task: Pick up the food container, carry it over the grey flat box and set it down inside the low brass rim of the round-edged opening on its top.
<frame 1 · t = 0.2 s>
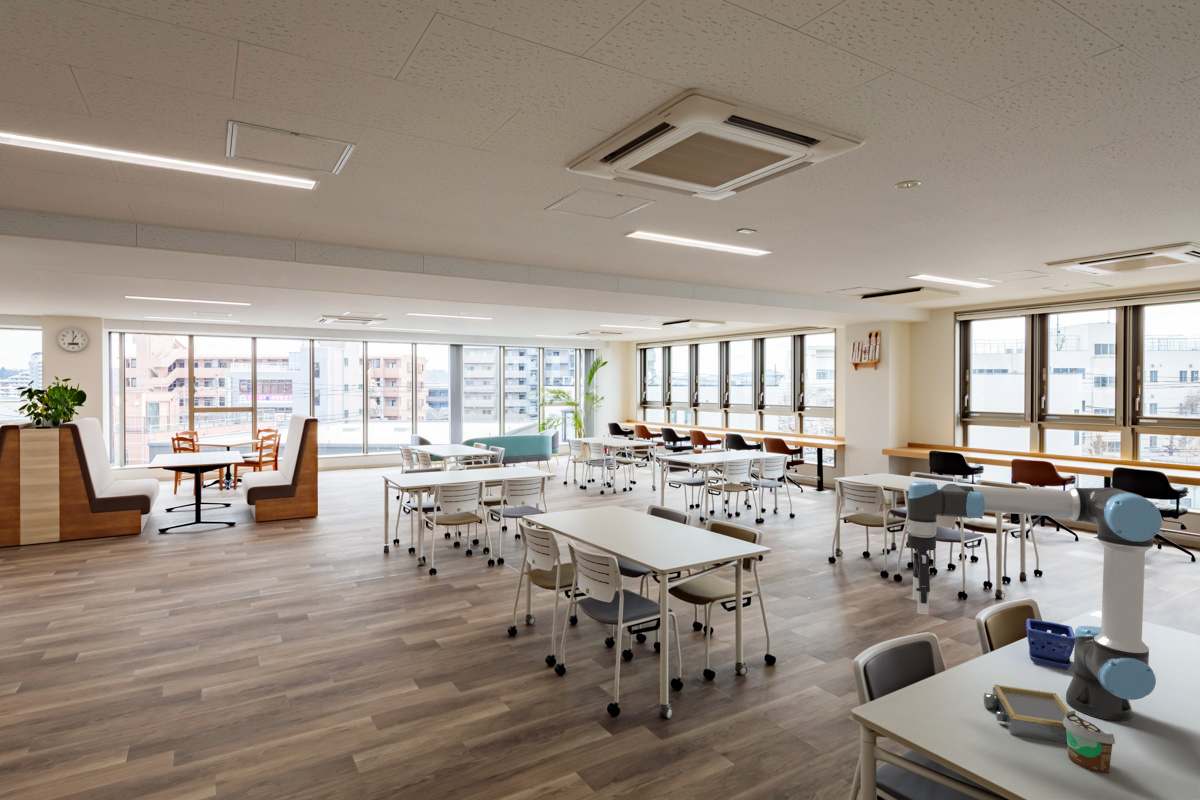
hand: (920, 606, 191), 28 cm above the table, fingers open, 13 cm apart
grey flat box: (1034, 721, 180), on the table
food container: (1080, 763, 160), on the table
flower pot: (1049, 662, 220), on the table
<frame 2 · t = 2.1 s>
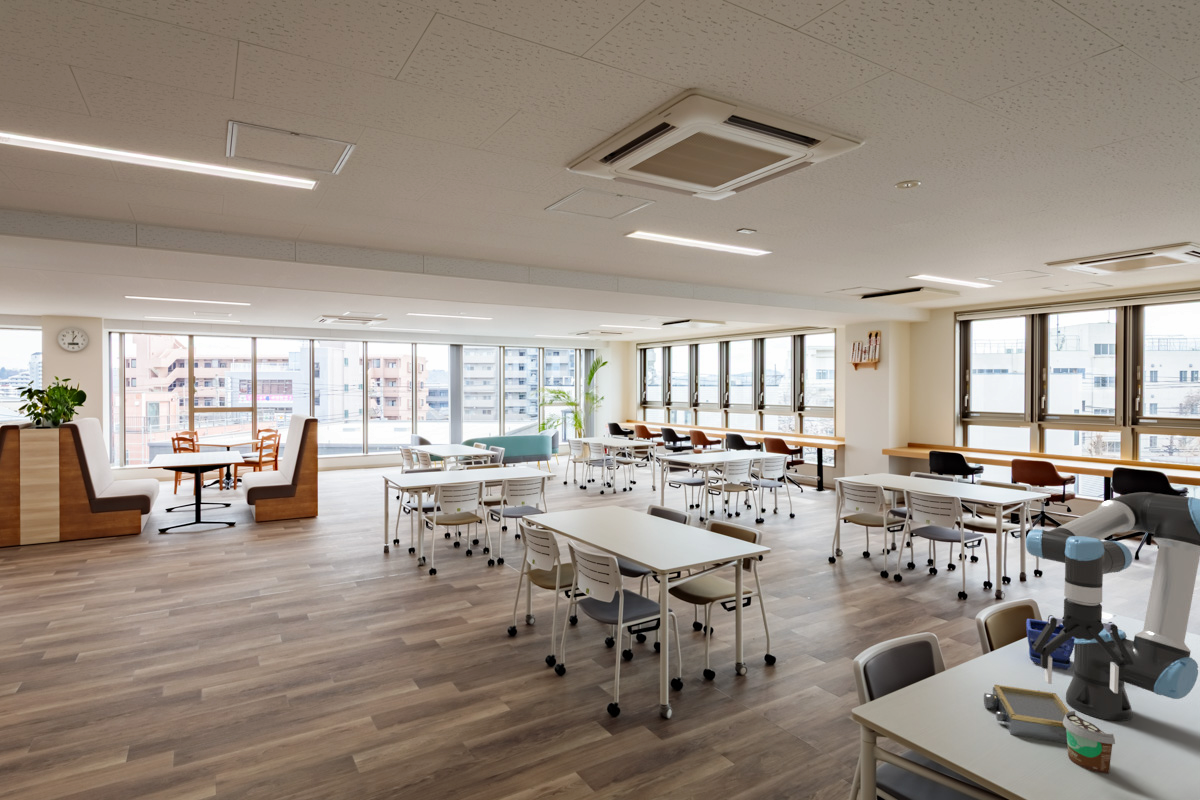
hand: (1080, 686, 160), 19 cm above the table, fingers open, 13 cm apart
nothing on the table moved.
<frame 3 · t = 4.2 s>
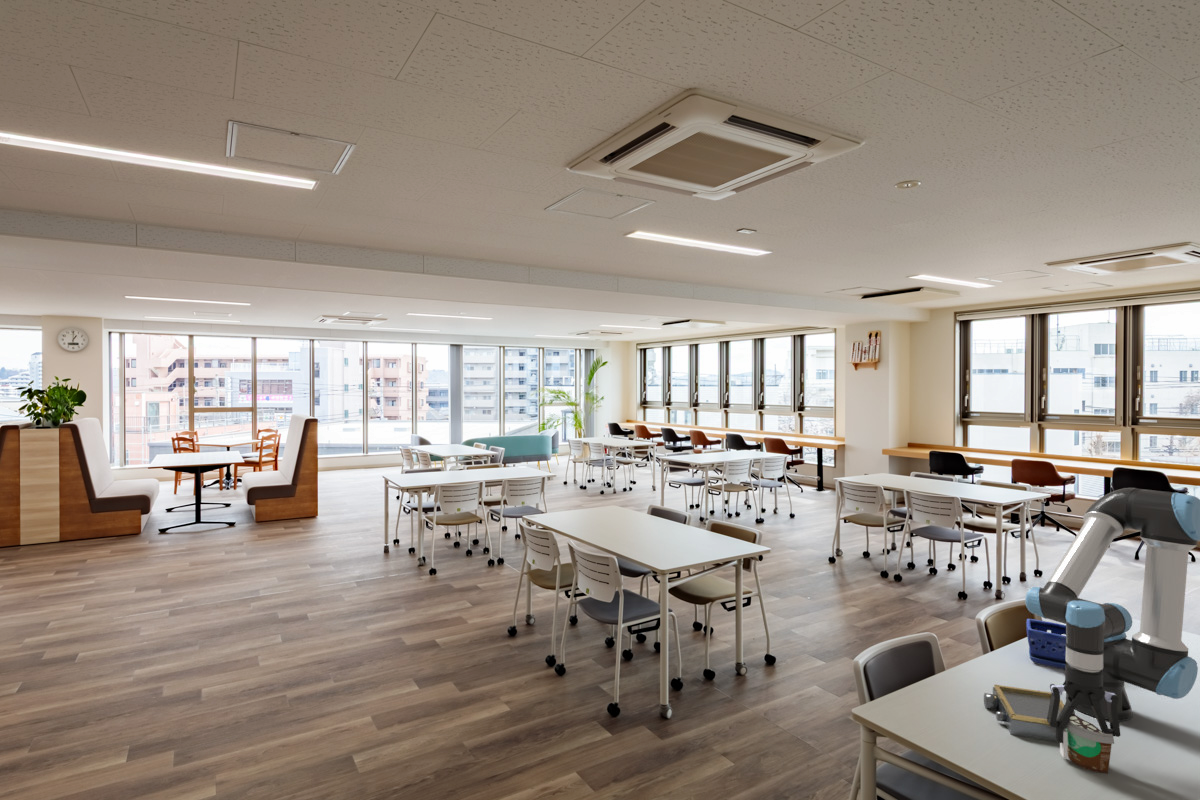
hand: (1082, 758, 160), 1 cm above the table, fingers closed on food container, 7 cm apart
food container: (1080, 763, 160), on the table, touching gripper
everything else where it was.
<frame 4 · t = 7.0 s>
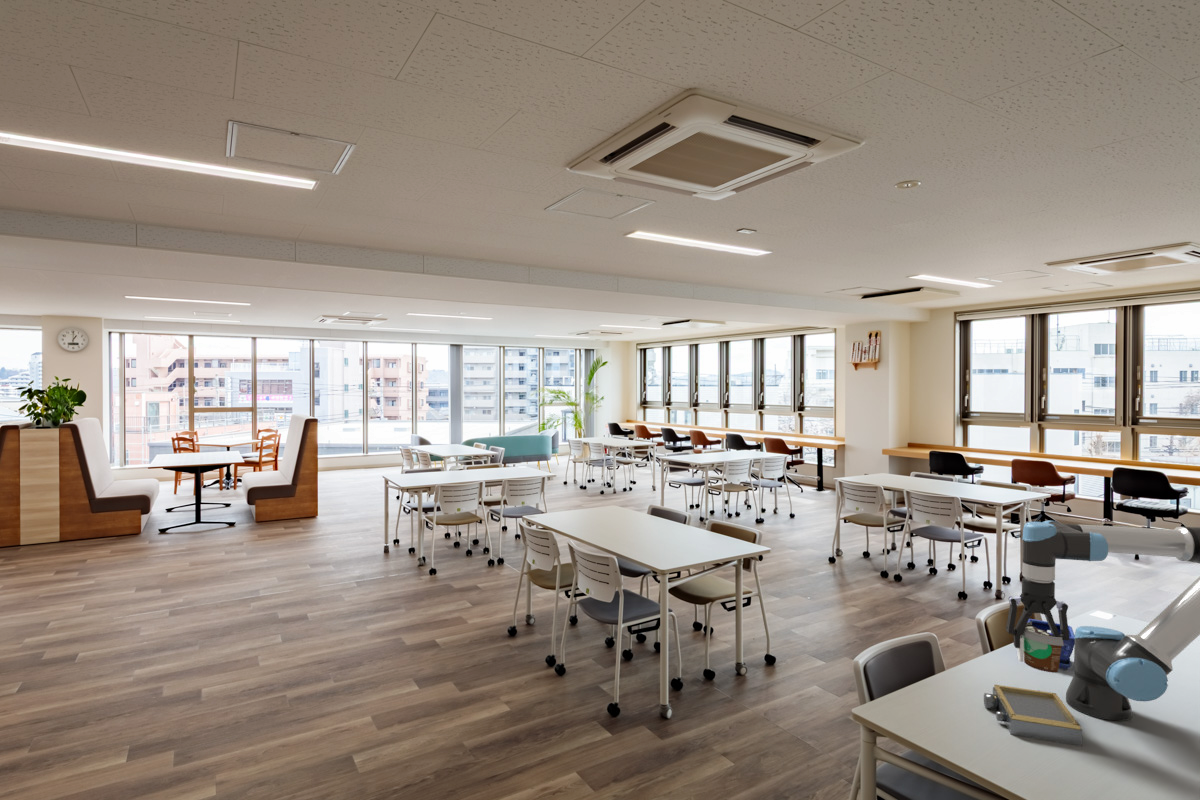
hand: (1036, 661, 179), 17 cm above the table, fingers closed on food container, 7 cm apart
food container: (1034, 665, 179), point 16 cm above the table, touching gripper
everything else where it was.
when the fingers open (8 cm above the table, at t = 9.5 s): food container drops 2 cm, resting on grey flat box.
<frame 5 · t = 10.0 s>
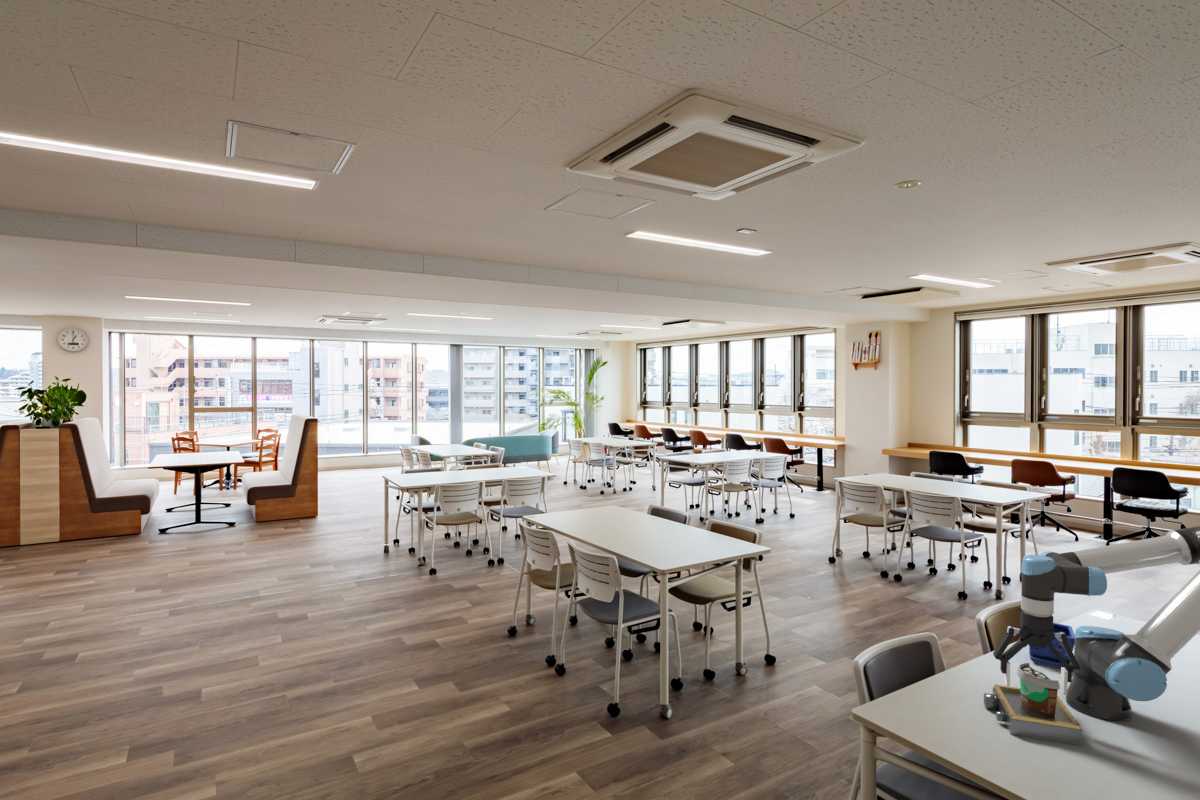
hand: (1035, 689, 180), 9 cm above the table, fingers open, 13 cm apart
food container: (1031, 708, 180), point 4 cm above the table, touching grey flat box
everything else where it was.
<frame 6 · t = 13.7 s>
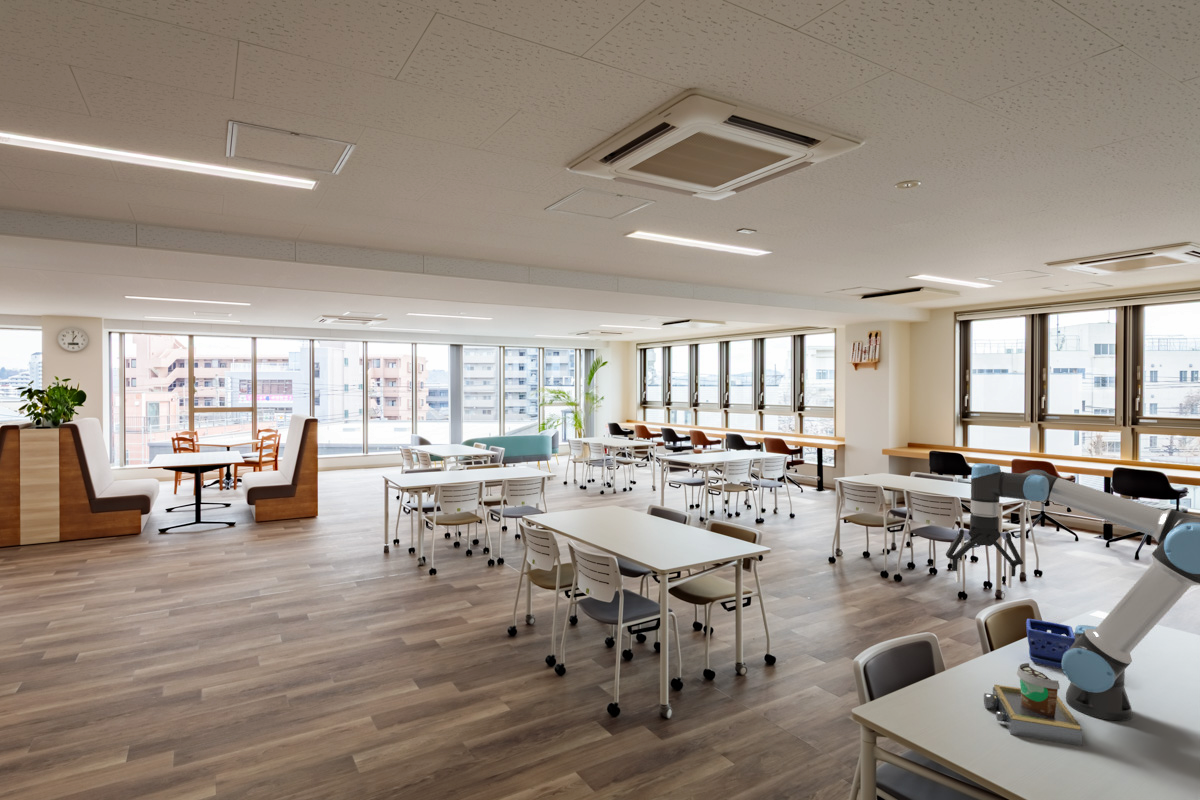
hand: (982, 584, 198), 33 cm above the table, fingers open, 13 cm apart
nothing on the table moved.
at the end: food container inside the target area on the grey flat box (0.8 cm from its centre), point 3.8 cm above the grey flat box's base; food container tilted 0°; the gripper is holding nothing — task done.
